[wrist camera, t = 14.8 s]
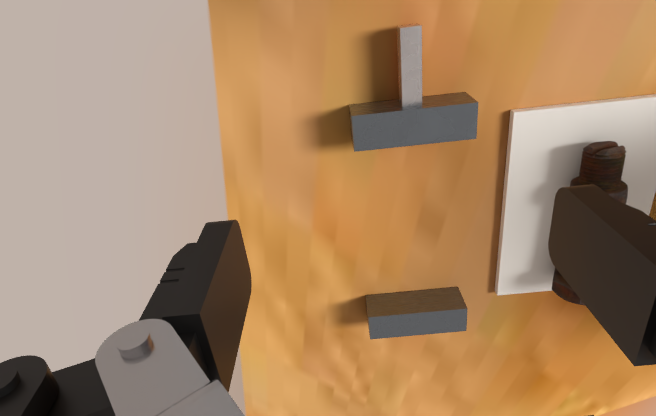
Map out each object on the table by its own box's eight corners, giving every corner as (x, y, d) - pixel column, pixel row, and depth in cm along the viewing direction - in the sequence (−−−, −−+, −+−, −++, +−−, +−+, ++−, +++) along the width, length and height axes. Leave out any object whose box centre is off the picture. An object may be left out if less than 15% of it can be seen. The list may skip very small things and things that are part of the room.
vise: (468, 16, 35) (482, 19, 32) (457, 308, 49) (466, 330, 46) (342, 30, 35) (344, 36, 32) (367, 316, 49) (370, 339, 46)
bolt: (589, 131, 40) (569, 267, 47) (554, 145, 38) (538, 285, 45) (659, 144, 36) (626, 294, 42) (623, 161, 34) (594, 315, 40)
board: (675, 92, 38) (681, 94, 37) (626, 278, 47) (631, 283, 46) (510, 109, 38) (514, 112, 38) (494, 290, 48) (497, 295, 47)
